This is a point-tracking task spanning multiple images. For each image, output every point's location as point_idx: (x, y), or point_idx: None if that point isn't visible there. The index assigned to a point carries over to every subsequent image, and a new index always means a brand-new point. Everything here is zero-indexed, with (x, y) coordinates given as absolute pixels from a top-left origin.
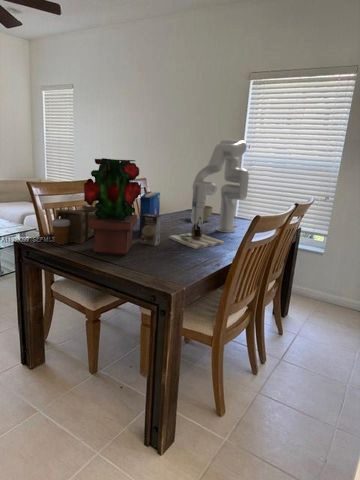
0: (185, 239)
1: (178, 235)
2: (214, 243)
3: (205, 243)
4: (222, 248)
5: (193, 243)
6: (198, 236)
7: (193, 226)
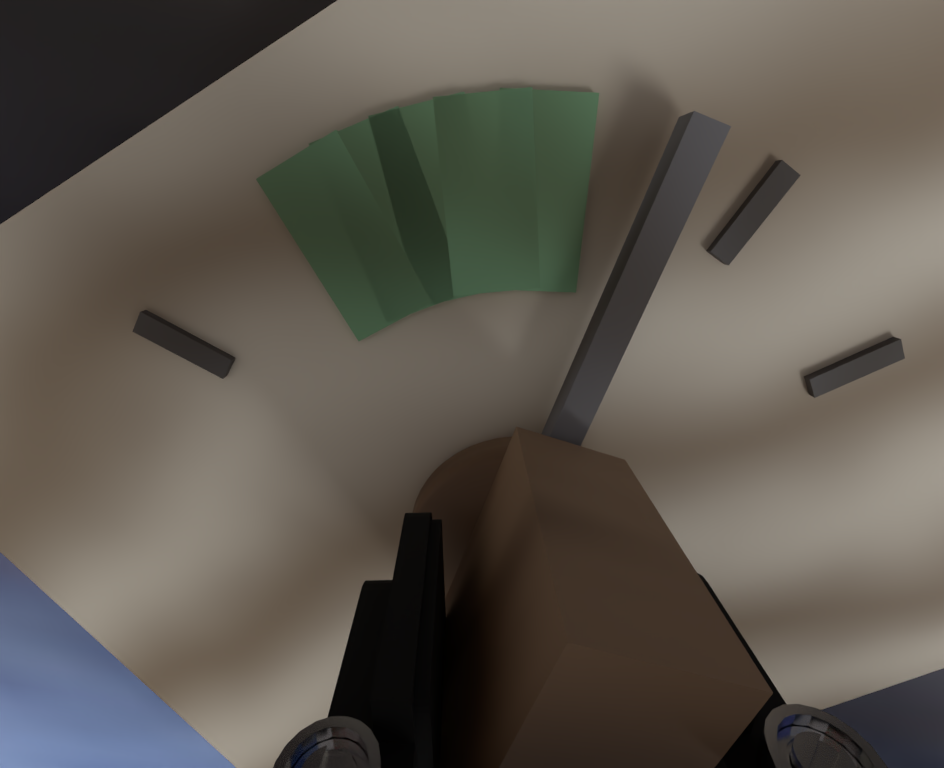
0: (384, 219)
1: (904, 83)
2: (218, 738)
3: (137, 610)
4: (101, 762)
5: (45, 365)
6: (448, 595)
7: (842, 764)
